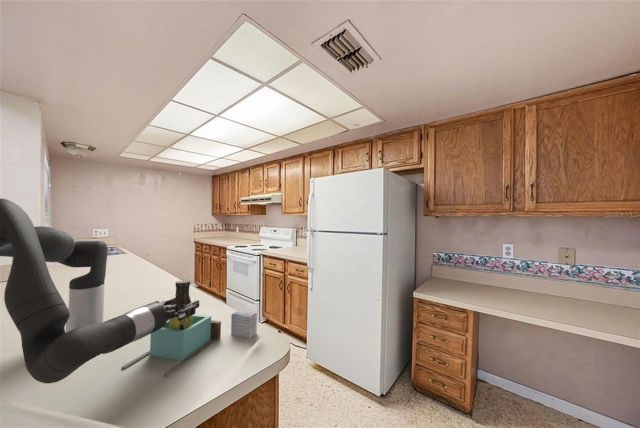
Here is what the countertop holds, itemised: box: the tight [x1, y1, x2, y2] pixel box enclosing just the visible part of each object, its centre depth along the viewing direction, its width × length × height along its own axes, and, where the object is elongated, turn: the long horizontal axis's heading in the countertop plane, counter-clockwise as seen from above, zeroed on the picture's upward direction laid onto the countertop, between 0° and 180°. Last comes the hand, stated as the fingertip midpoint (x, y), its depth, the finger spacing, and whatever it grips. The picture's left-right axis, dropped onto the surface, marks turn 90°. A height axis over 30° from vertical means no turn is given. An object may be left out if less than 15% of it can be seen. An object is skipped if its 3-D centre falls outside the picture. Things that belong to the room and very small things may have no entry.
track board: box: [121, 319, 222, 378], centre depth 77 cm, size 16×22×7 cm
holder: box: [149, 313, 212, 361], centre depth 79 cm, size 11×12×8 cm
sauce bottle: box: [169, 279, 192, 330], centre depth 78 cm, size 7×6×20 cm
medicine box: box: [230, 309, 258, 339], centre depth 89 cm, size 8×4×9 cm, turn 71°
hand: (186, 302), depth 81 cm, fingers open, 8 cm apart
